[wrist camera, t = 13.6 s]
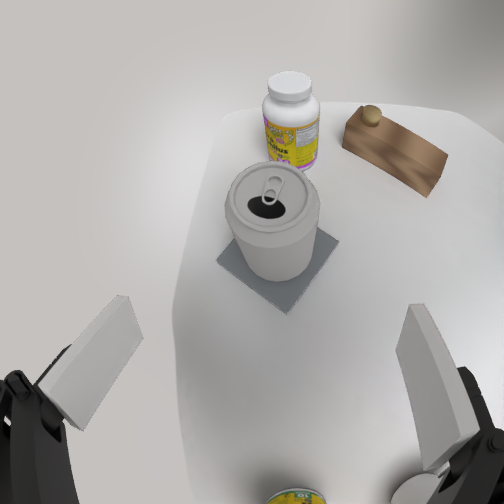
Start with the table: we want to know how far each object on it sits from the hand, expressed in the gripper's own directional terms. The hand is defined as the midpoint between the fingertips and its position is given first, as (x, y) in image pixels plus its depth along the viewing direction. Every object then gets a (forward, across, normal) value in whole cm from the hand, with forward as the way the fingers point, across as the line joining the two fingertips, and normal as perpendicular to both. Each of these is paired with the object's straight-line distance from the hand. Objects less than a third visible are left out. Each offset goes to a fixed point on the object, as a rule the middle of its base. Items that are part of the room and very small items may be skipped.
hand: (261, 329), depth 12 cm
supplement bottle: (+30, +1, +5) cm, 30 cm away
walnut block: (+30, +15, +4) cm, 34 cm away
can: (+19, -1, -5) cm, 20 cm away
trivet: (+19, -1, -5) cm, 20 cm away
